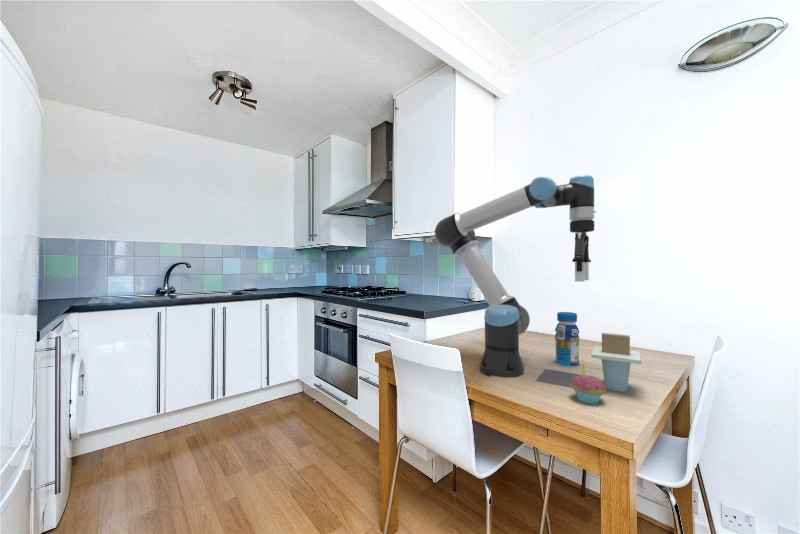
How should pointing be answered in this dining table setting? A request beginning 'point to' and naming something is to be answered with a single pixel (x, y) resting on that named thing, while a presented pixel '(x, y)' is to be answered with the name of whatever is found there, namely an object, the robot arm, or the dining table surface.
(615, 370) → the cup
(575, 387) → the cupcake
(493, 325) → the robot arm
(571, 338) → the beverage bottle
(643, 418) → the dining table surface
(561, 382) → the mat
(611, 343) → the lid
